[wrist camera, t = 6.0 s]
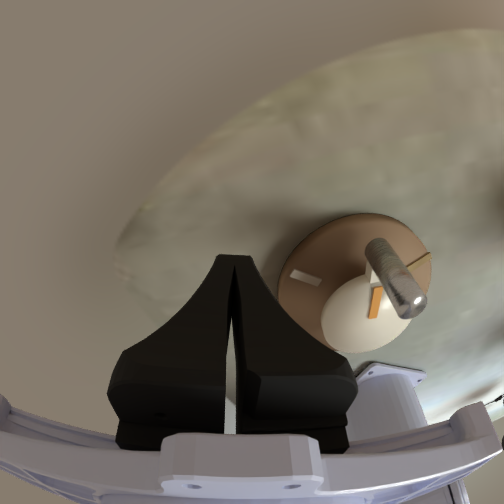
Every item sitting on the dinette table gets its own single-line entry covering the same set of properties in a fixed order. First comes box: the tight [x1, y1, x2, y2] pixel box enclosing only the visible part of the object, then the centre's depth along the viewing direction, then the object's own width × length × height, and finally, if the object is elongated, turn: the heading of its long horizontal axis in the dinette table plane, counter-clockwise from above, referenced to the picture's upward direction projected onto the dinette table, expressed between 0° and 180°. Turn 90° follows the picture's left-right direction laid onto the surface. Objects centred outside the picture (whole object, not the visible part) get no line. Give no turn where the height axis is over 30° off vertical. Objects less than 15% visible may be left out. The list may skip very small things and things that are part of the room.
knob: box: [321, 238, 427, 353], centre depth 15 cm, size 8×6×4 cm
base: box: [278, 214, 432, 351], centre depth 18 cm, size 10×10×2 cm
